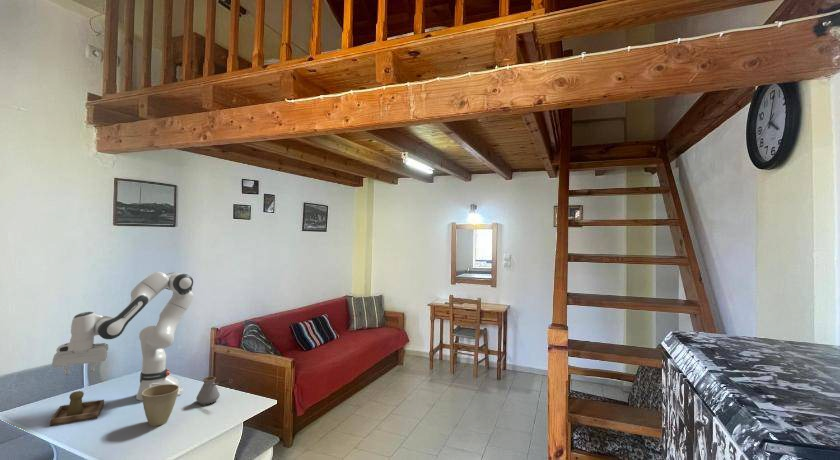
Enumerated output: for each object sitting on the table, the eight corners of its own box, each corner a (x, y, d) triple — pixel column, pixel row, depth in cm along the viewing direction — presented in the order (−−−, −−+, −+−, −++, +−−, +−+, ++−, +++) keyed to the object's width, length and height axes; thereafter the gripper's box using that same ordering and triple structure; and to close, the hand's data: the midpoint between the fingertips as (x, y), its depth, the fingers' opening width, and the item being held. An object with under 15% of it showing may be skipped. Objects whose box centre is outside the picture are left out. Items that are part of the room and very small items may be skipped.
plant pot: (139, 420, 178) (142, 387, 179) (175, 413, 187) (177, 382, 188) (138, 433, 166) (141, 398, 167) (177, 425, 175) (179, 391, 176)
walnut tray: (103, 405, 192) (104, 399, 192) (97, 418, 178) (97, 412, 178) (59, 411, 183) (60, 405, 183) (49, 426, 169) (50, 419, 169)
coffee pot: (190, 404, 198) (192, 376, 199) (208, 396, 209) (210, 370, 210) (220, 410, 192) (222, 382, 193) (237, 402, 203) (239, 375, 204)
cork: (72, 418, 175) (74, 395, 176) (63, 416, 177) (65, 393, 177) (86, 412, 181) (88, 390, 182) (76, 411, 183) (79, 389, 183)
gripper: (109, 341, 189) (107, 367, 189) (55, 346, 178) (53, 374, 178) (107, 344, 184) (105, 371, 184) (52, 349, 173) (49, 378, 172)
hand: (79, 372), depth 181 cm, fingers open, 8 cm apart
